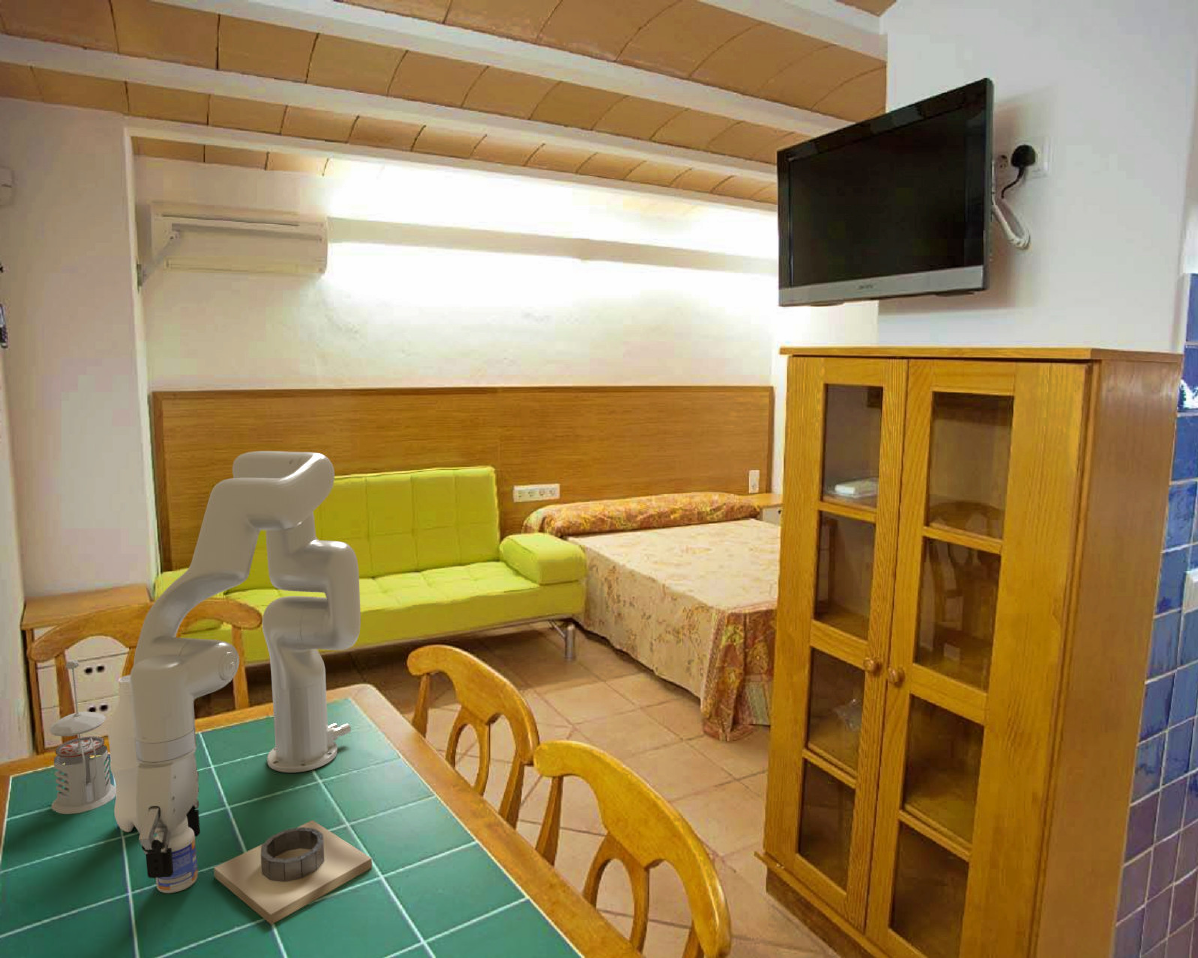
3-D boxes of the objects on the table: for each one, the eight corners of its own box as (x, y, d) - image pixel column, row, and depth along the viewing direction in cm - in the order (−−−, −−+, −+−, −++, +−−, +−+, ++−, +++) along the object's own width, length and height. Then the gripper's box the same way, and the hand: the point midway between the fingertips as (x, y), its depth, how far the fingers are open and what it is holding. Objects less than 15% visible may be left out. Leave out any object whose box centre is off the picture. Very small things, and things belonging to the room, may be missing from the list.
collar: (304, 838, 125) (303, 820, 125) (335, 860, 120) (334, 841, 119) (250, 865, 118) (249, 846, 118) (281, 889, 113) (280, 869, 113)
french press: (109, 777, 146) (97, 645, 143) (127, 802, 138) (115, 663, 134) (45, 797, 139) (31, 660, 136) (60, 825, 131) (45, 679, 128)
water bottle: (144, 838, 127) (131, 688, 124) (105, 833, 129) (91, 685, 125) (176, 814, 134) (165, 671, 131) (139, 809, 136) (127, 668, 132)
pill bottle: (204, 881, 117) (199, 819, 116) (164, 899, 113) (158, 835, 112) (189, 865, 121) (185, 805, 119) (150, 882, 117) (145, 820, 115)
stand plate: (312, 828, 130) (312, 820, 130) (371, 867, 120) (371, 858, 120) (214, 876, 118) (213, 867, 118) (271, 924, 108) (270, 914, 108)
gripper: (164, 718, 122) (173, 822, 124) (107, 775, 105) (118, 895, 107) (216, 715, 123) (223, 820, 125) (168, 772, 106) (177, 892, 108)
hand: (175, 855), depth 116 cm, fingers open, 9 cm apart
